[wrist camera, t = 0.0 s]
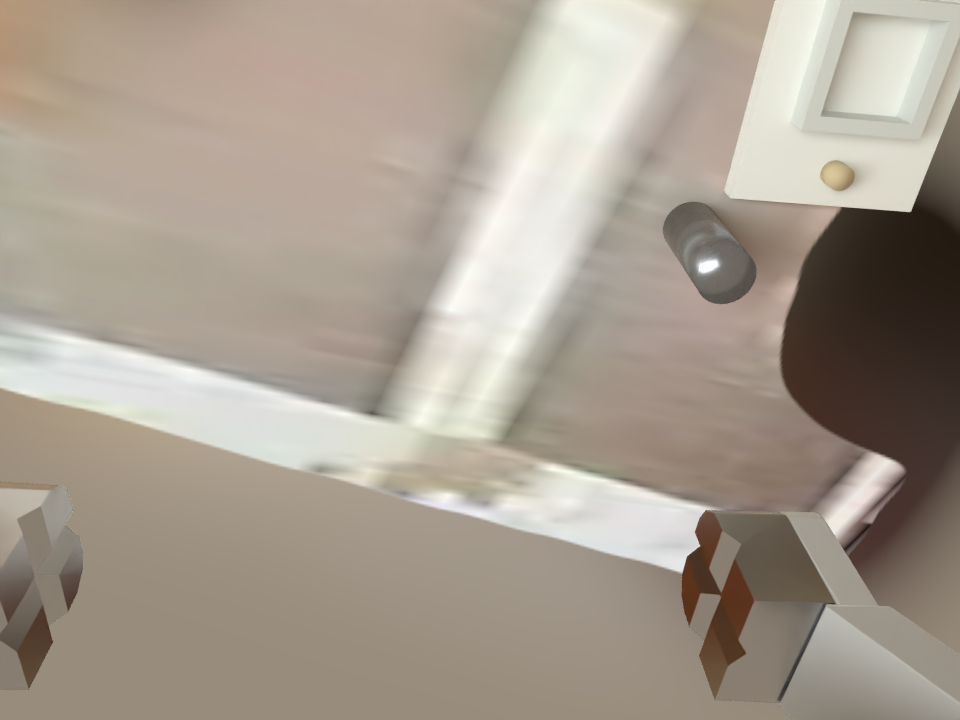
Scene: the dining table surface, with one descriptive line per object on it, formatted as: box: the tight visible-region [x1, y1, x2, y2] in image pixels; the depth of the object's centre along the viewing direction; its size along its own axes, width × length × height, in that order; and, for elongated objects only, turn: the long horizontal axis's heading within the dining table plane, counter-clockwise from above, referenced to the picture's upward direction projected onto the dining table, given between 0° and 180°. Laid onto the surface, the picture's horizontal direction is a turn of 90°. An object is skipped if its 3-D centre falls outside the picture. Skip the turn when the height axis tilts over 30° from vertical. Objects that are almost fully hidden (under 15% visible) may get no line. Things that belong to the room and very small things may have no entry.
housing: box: [724, 0, 960, 212], centre depth 53 cm, size 20×14×4 cm
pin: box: [663, 202, 756, 304], centre depth 56 cm, size 4×4×9 cm
